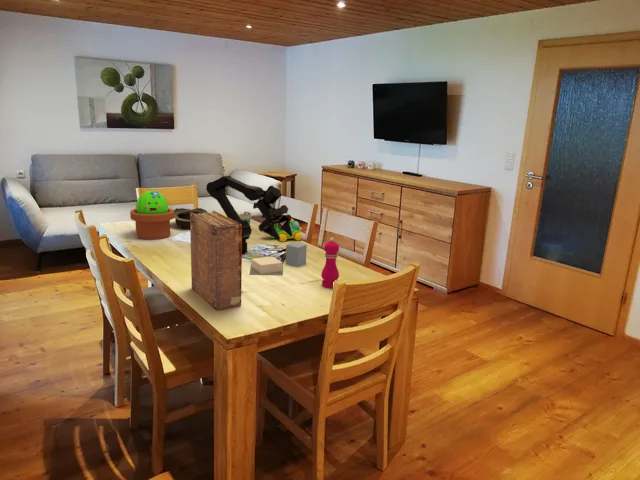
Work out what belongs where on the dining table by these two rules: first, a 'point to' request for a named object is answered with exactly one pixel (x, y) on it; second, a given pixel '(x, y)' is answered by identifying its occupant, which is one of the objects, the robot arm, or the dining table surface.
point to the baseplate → (253, 272)
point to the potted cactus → (152, 216)
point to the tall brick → (296, 254)
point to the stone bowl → (185, 216)
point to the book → (216, 259)
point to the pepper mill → (330, 264)
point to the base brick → (266, 265)
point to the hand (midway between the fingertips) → (285, 237)
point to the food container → (246, 216)
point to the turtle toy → (294, 228)
